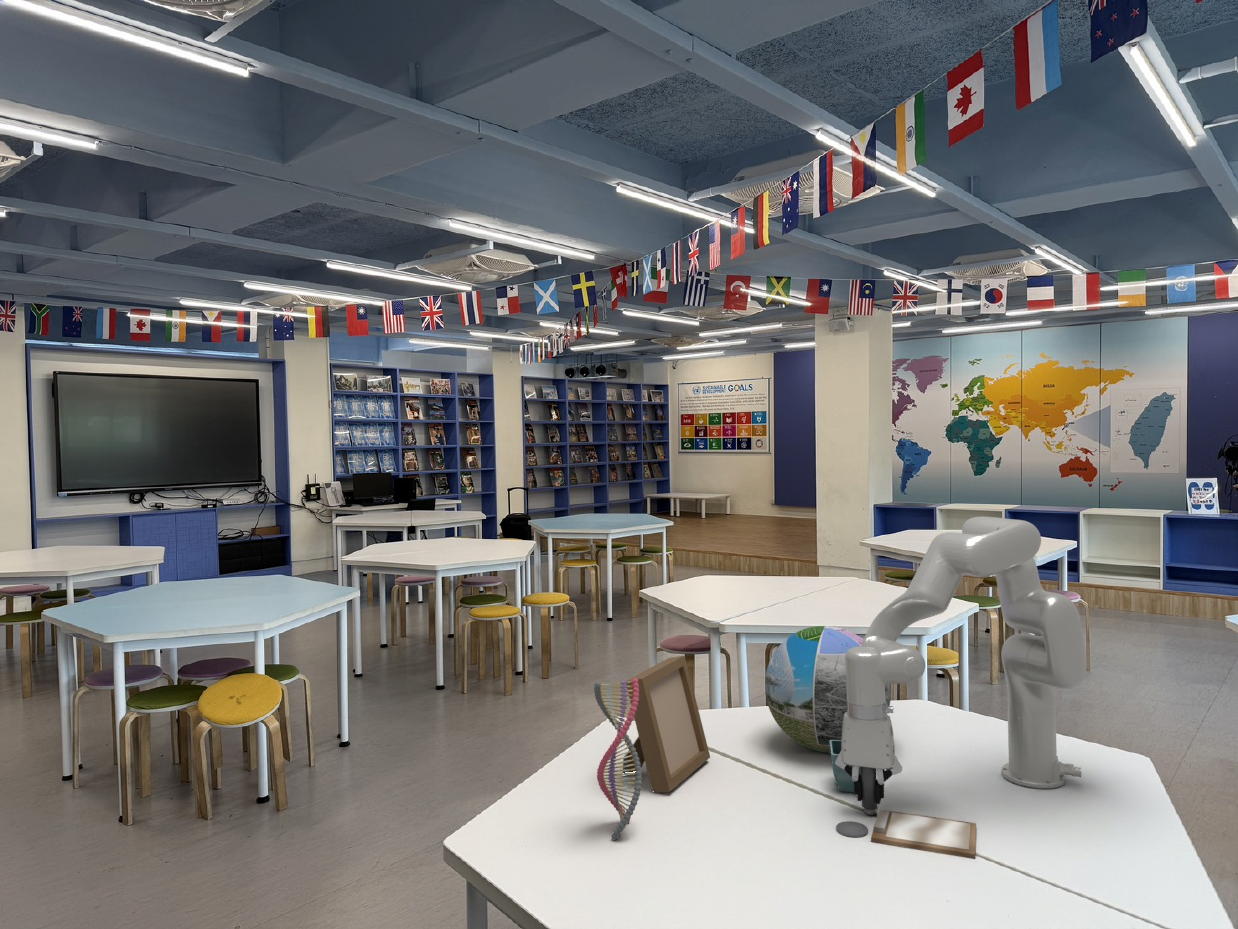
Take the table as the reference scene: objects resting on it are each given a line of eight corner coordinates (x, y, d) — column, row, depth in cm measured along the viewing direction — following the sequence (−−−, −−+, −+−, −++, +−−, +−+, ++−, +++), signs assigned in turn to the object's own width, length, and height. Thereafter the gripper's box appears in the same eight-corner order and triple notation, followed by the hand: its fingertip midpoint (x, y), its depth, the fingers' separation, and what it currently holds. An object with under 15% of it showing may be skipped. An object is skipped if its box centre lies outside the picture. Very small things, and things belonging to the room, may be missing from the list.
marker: (879, 810, 168) (877, 749, 168) (877, 817, 165) (874, 755, 165) (862, 808, 170) (860, 747, 169) (860, 814, 167) (858, 753, 166)
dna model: (649, 823, 166) (644, 675, 166) (635, 844, 158) (630, 688, 157) (607, 818, 169) (602, 672, 169) (591, 838, 161) (586, 685, 160)
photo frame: (710, 761, 198) (706, 657, 198) (670, 796, 179) (665, 681, 179) (655, 752, 205) (650, 652, 205) (611, 785, 186) (606, 674, 186)
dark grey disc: (870, 826, 162) (870, 824, 162) (865, 839, 157) (865, 837, 157) (838, 821, 165) (838, 819, 165) (833, 834, 159) (833, 832, 159)
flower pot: (875, 798, 175) (874, 755, 175) (832, 795, 177) (831, 754, 177) (871, 781, 184) (870, 741, 184) (830, 779, 186) (829, 739, 185)
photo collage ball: (796, 720, 225) (793, 610, 224) (908, 741, 207) (905, 621, 207) (745, 756, 201) (742, 633, 200) (867, 782, 183) (864, 647, 183)
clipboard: (976, 827, 161) (976, 818, 160) (975, 858, 149) (974, 848, 149) (879, 813, 168) (879, 804, 168) (871, 841, 156) (870, 832, 156)
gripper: (910, 707, 167) (913, 798, 168) (828, 700, 174) (831, 787, 174) (907, 719, 160) (910, 813, 161) (821, 711, 167) (825, 802, 167)
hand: (869, 799), depth 167 cm, fingers closed on marker, 3 cm apart
